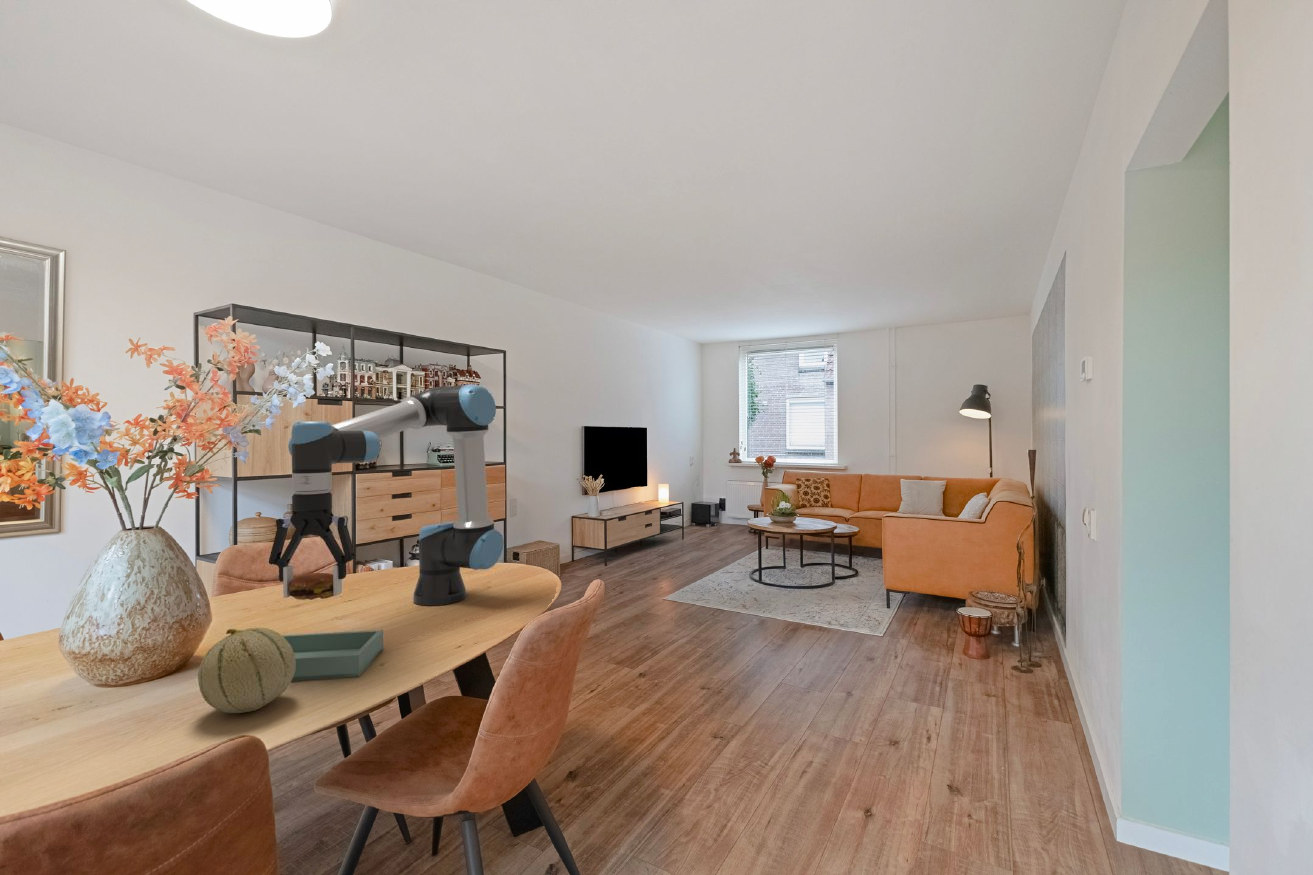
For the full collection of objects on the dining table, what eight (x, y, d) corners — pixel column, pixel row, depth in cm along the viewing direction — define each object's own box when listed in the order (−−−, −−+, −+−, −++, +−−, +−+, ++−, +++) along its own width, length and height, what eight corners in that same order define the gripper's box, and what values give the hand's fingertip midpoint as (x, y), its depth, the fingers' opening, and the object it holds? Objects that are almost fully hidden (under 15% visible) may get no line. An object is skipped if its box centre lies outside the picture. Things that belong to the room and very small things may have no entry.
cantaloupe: (297, 714, 106) (296, 630, 106) (193, 737, 98) (192, 647, 98) (294, 685, 118) (294, 610, 118) (202, 703, 110) (202, 623, 110)
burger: (315, 588, 135) (315, 568, 135) (348, 591, 132) (348, 570, 132) (277, 600, 125) (276, 578, 125) (312, 604, 123) (312, 582, 123)
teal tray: (272, 655, 135) (272, 635, 135) (383, 648, 138) (383, 629, 138) (232, 684, 119) (232, 662, 119) (358, 676, 122) (358, 655, 122)
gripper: (247, 494, 123) (248, 602, 123) (359, 492, 126) (360, 597, 126) (266, 491, 130) (267, 592, 130) (371, 489, 134) (372, 588, 134)
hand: (313, 594), depth 128 cm, fingers closed on burger, 9 cm apart
